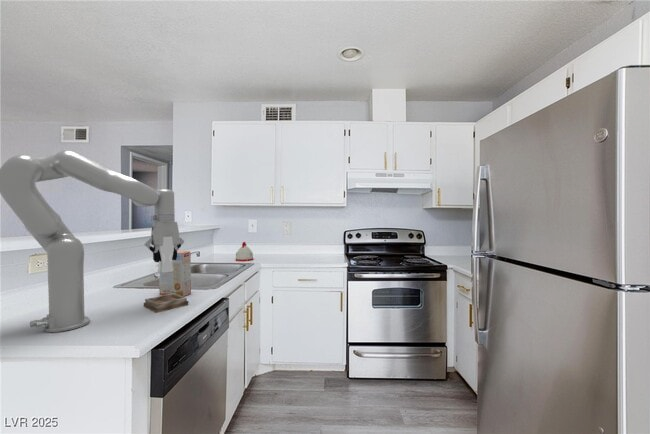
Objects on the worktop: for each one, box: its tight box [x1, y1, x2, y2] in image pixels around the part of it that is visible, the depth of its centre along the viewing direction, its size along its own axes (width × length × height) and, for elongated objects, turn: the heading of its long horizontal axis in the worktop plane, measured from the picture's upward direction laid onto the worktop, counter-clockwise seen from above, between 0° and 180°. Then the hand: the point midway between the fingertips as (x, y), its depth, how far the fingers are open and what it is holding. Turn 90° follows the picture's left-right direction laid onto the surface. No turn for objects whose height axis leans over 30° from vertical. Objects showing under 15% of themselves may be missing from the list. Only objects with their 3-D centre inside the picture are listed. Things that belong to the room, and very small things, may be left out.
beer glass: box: [157, 236, 174, 274], centre depth 129 cm, size 7×7×15 cm
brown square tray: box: [143, 293, 189, 314], centre depth 129 cm, size 13×13×3 cm
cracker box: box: [158, 250, 192, 297], centre depth 146 cm, size 14×6×21 cm, turn 72°
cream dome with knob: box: [235, 241, 254, 262], centre depth 249 cm, size 14×14×15 cm
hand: (165, 260), depth 129 cm, fingers closed on beer glass, 6 cm apart
